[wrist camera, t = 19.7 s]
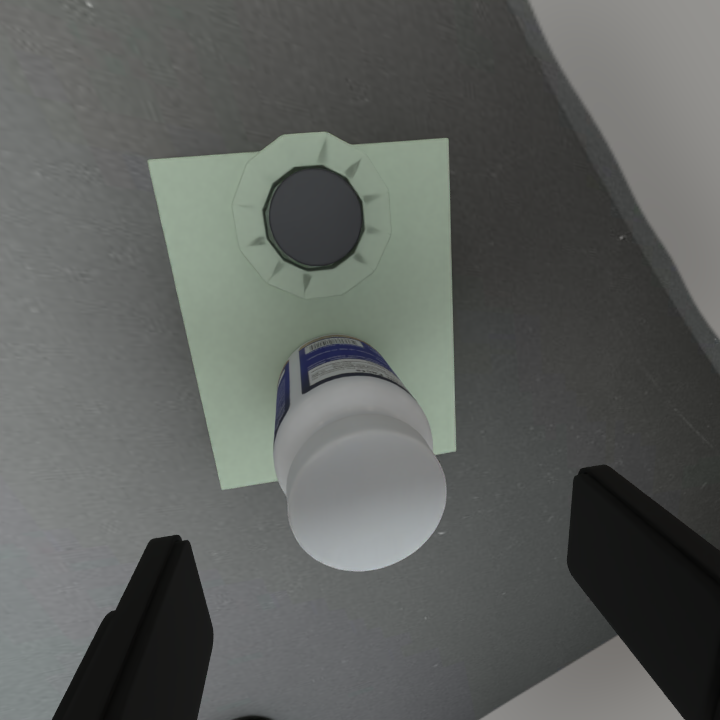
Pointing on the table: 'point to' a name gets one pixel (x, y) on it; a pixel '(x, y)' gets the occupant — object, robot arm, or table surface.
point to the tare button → (315, 217)
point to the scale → (308, 281)
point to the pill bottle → (354, 456)
